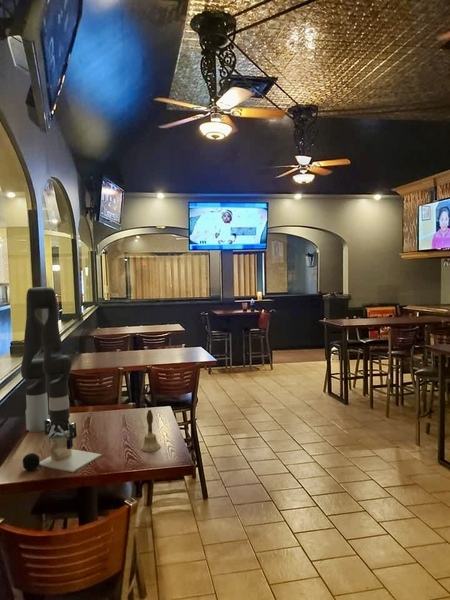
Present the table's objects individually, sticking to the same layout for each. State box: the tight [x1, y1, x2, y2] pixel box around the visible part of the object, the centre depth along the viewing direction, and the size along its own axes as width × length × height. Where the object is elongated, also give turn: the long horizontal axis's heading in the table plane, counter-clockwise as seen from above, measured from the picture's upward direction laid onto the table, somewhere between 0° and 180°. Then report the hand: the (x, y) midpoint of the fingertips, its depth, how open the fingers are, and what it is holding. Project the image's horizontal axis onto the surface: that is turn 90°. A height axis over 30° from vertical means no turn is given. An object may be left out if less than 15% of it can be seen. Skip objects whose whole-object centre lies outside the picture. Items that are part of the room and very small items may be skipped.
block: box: [49, 432, 73, 461], centre depth 181 cm, size 4×7×9 cm, turn 156°
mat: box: [38, 449, 102, 473], centre depth 180 cm, size 18×16×1 cm
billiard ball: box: [22, 452, 41, 471], centre depth 172 cm, size 6×6×6 cm
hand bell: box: [139, 409, 161, 453], centre depth 190 cm, size 8×8×16 cm
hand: (61, 447), depth 181 cm, fingers open, 8 cm apart
